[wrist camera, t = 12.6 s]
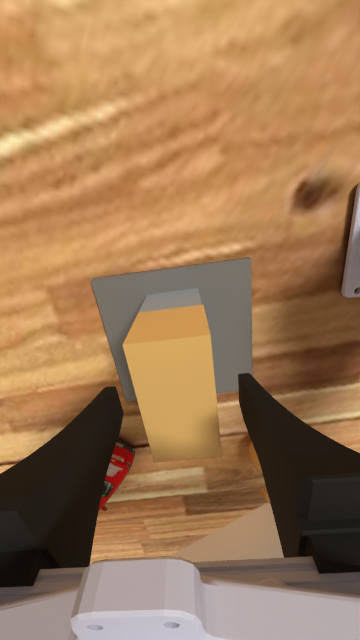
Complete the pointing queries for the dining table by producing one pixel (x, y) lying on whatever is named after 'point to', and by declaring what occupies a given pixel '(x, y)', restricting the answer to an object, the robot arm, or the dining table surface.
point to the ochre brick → (175, 382)
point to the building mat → (217, 297)
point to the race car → (117, 470)
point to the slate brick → (171, 300)
